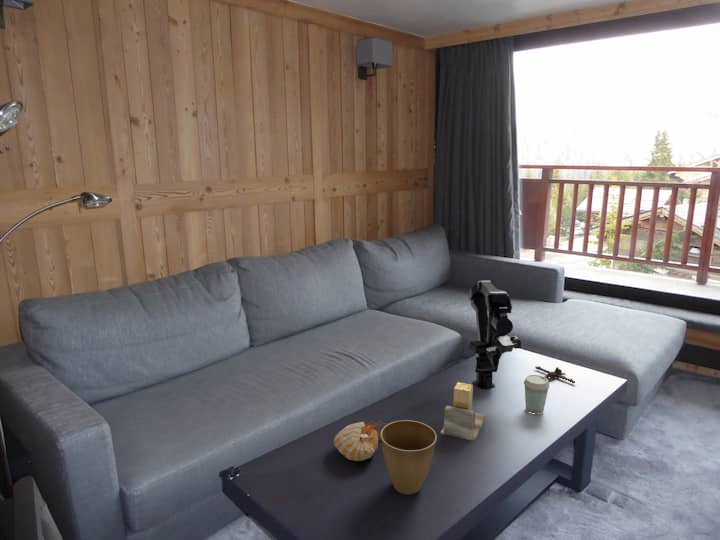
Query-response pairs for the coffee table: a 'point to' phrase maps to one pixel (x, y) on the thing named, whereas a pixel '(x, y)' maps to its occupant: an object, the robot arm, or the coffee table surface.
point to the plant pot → (408, 453)
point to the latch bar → (463, 396)
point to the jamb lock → (462, 423)
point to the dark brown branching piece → (555, 374)
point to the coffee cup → (535, 393)
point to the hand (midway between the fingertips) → (494, 367)
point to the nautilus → (358, 441)
